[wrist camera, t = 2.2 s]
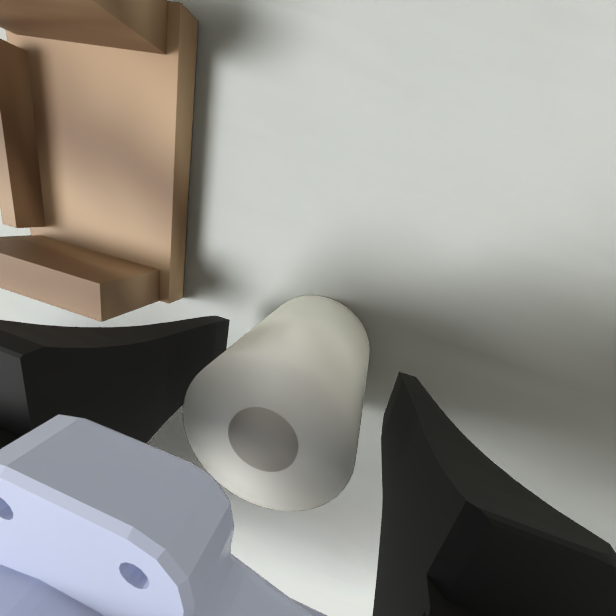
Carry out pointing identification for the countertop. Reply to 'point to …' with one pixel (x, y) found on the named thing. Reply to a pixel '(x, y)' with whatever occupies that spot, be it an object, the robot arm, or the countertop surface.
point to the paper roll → (283, 406)
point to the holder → (96, 151)
